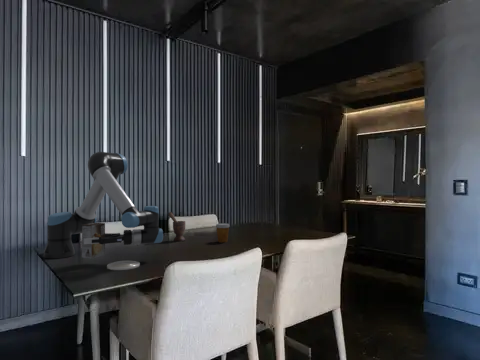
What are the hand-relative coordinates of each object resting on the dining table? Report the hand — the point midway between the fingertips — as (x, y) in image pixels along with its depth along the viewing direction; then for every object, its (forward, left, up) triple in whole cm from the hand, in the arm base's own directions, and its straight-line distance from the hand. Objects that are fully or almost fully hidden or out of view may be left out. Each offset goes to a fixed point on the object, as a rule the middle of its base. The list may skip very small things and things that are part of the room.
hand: (84, 239), depth 169 cm
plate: (+19, -6, -13) cm, 24 cm away
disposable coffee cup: (+77, +51, -13) cm, 93 cm away
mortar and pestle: (+47, +61, -13) cm, 78 cm away
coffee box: (+4, +1, -9) cm, 10 cm away
